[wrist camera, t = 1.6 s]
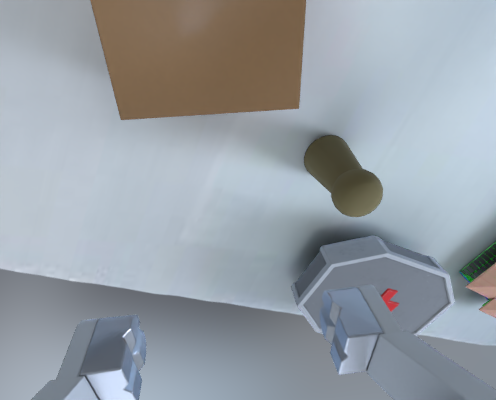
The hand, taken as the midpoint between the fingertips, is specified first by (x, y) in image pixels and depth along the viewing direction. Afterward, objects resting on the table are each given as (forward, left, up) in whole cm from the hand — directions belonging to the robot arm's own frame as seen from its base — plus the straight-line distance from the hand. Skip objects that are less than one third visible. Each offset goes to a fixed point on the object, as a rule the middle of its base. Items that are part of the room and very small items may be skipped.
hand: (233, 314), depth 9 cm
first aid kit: (+10, +37, -29) cm, 48 cm away
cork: (-2, +17, -29) cm, 34 cm away
